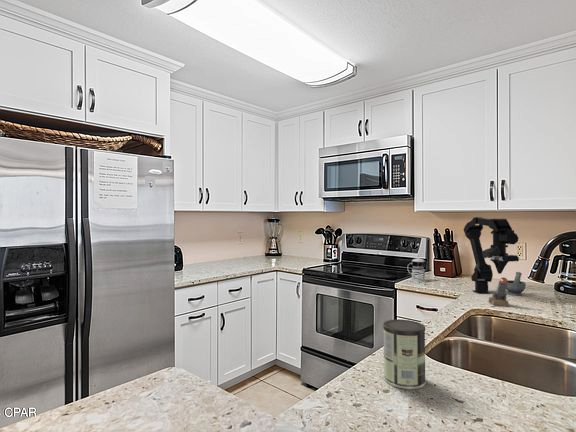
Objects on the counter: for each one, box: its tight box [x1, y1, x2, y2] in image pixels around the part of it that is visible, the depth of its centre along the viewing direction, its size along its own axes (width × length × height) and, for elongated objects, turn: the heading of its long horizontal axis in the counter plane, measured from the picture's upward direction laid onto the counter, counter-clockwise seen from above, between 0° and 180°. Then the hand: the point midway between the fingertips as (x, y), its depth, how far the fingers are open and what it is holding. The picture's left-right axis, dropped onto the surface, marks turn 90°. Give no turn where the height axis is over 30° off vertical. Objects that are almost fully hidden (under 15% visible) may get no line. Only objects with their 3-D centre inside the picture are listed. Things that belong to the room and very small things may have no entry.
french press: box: [407, 243, 426, 282], centre depth 228 cm, size 10×12×25 cm
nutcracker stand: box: [488, 292, 509, 308], centre depth 167 cm, size 8×6×6 cm
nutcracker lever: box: [495, 277, 508, 299], centre depth 163 cm, size 3×3×12 cm
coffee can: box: [382, 319, 427, 390], centre depth 89 cm, size 10×10×14 cm
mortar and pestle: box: [506, 271, 527, 297], centre depth 188 cm, size 11×9×12 cm
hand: (499, 273), depth 178 cm, fingers closed
